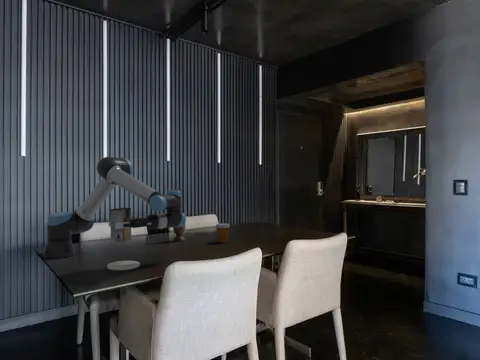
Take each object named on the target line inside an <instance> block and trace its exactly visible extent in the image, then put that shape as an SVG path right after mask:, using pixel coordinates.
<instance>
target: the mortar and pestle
mask: <svg viewBox="0 0 480 360" xmlns="http://www.w3.org/2000/svg"><path fill="white" fill-rule="evenodd" d="M172 229H173V233H174V234H175V237H174V239H173V241H174V242H183V241H186V238H185V237H184V233H185V231H186V224H185V225H184V226H180V227H172Z"/></svg>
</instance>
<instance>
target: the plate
mask: <svg viewBox="0 0 480 360" xmlns="http://www.w3.org/2000/svg"><path fill="white" fill-rule="evenodd" d="M140 266H141V263H140V262H139V261H135V260H119V261H114V262H109V263H108V264H107V265H106V269H107V270H109V271H128V270H134V269H137V268H139V267H140Z"/></svg>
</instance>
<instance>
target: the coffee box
mask: <svg viewBox="0 0 480 360" xmlns="http://www.w3.org/2000/svg"><path fill="white" fill-rule="evenodd" d="M109 211H110V213H109V214H110V220H109V221H110V225H111V226H110V244H125V243H127V242H129V241H132V228H121V229H115V223H121V222H130V221H131V219H132V207H116V208H111V209H110V210H109Z"/></svg>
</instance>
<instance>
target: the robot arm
mask: <svg viewBox="0 0 480 360" xmlns="http://www.w3.org/2000/svg"><path fill="white" fill-rule="evenodd" d="M133 167H134V166H133V163H132V162H131V161H130V160H129V159H128V158H124V157H114V156H105V157H102V158H101V159H100V160H98V161H97V164H96V172H97V174H98V175H99V177H100V178H101V179H100V180H99V181H98V182H97V184H96V185H95V186H94V188H93V189H92V191H91V192H90V193H89V195H88V196H87V198H86V199H85V200H84V201H83V203H82V205H81V206H77V207H76V208H75V210H74V211H73V212H72V213H71V212H70V211H62V212H54V213H51V214H49V215H48V216H47V222H46V224H47V226H46V227H47V228H46V229H47V234H46V235H47V236H46V237H47V241H46V242H47V243H46V246H45V249H44V251H43V258H45V259H63V258H68V257H73V256H75V255H76V254H75V253H76V251H75V248H74V245H73V242H72V235H75V234H81V233H86V232H89V231H90V230H91V229H93V227H94V224H95V222H94V221H95V218H96V216H95V214H96V213H97V211H98V210H99V209H100V207H101V206H102V205H103V203H104V202H105V201H106V199H108V197H109V195H110V194H111V192H112V191H113V190H114V189H115V188H116V186H119V187H120V188H122V189H123V190H125V191H127V192H129V193H130V194H132V195H133V196H135V197H137V198H138V199H140V200H141V201H143V202H144V203H146V204H148V206H149V207H150V209H151V210H153V211H156V212H161V211H164V210H165V211H166V213H153V214H152V213H151V214H148V215H147V216H146V217H142V218H131V221H130V222H121V223H115V229H121V228H131V229H136V228H146V227H147V228H148V229H149V230H156V229H158V230H159V229H160V230H163V229H169V228H170V229H171V228H172V229H173V227H180V226H184V225H185V226H186V221H187V218H186V214H185V212H182V193H181V191H180V190H167V191H166V194H162V193H161V192H159V191H157V190H156V189H154V188H153V187H151V186H149V185H147V184H145V183H144V182H143V181H141V180H139V179H138V178H136V177H135V176H132V175H133V172H134V169H133ZM108 227H111V225H110V220H108Z"/></svg>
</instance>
